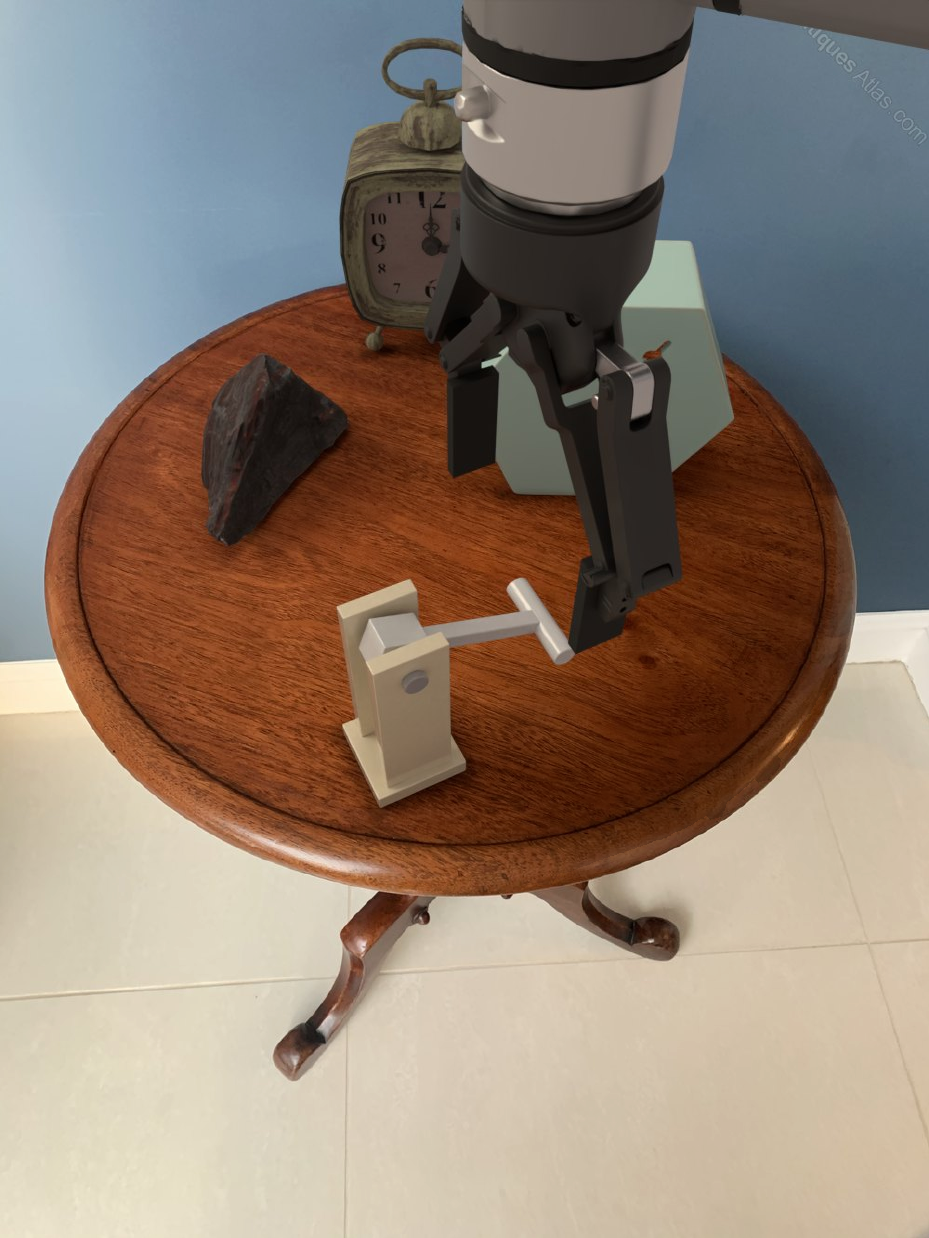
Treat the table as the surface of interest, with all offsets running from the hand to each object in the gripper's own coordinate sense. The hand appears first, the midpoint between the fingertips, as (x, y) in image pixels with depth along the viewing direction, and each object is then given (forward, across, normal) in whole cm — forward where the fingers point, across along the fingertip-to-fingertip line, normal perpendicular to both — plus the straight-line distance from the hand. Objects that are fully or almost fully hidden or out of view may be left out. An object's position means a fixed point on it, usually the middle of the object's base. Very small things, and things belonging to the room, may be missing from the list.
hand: (528, 547), depth 53 cm
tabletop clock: (+16, -38, +12) cm, 43 cm away
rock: (+16, -26, -7) cm, 31 cm away
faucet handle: (+7, 0, -4) cm, 8 cm away
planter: (+16, -18, +16) cm, 29 cm away
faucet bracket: (+16, 0, -8) cm, 18 cm away
